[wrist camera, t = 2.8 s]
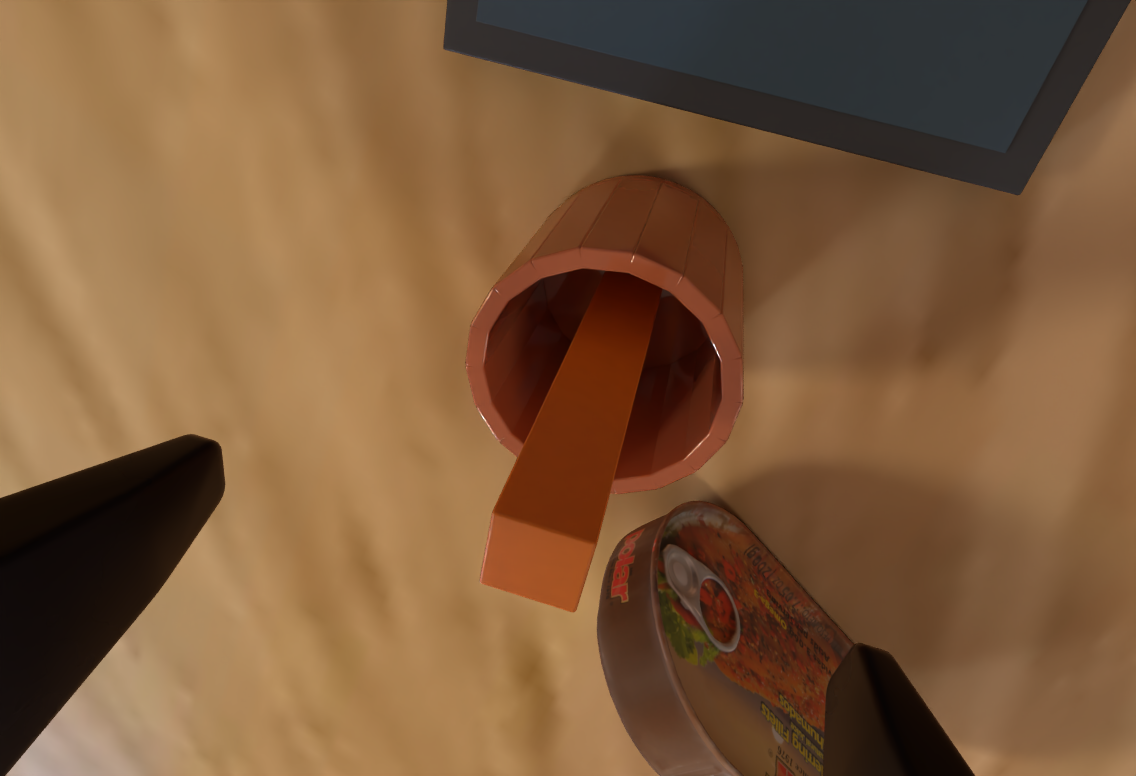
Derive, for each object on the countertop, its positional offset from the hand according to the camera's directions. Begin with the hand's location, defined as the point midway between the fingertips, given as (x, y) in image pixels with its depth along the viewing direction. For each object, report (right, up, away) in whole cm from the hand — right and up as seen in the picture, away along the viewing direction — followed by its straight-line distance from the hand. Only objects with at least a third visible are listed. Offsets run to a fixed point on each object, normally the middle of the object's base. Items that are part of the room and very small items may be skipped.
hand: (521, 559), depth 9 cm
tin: (+8, -6, +16) cm, 19 cm away
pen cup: (+3, +5, +11) cm, 12 cm away
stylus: (+2, +5, +10) cm, 12 cm away
